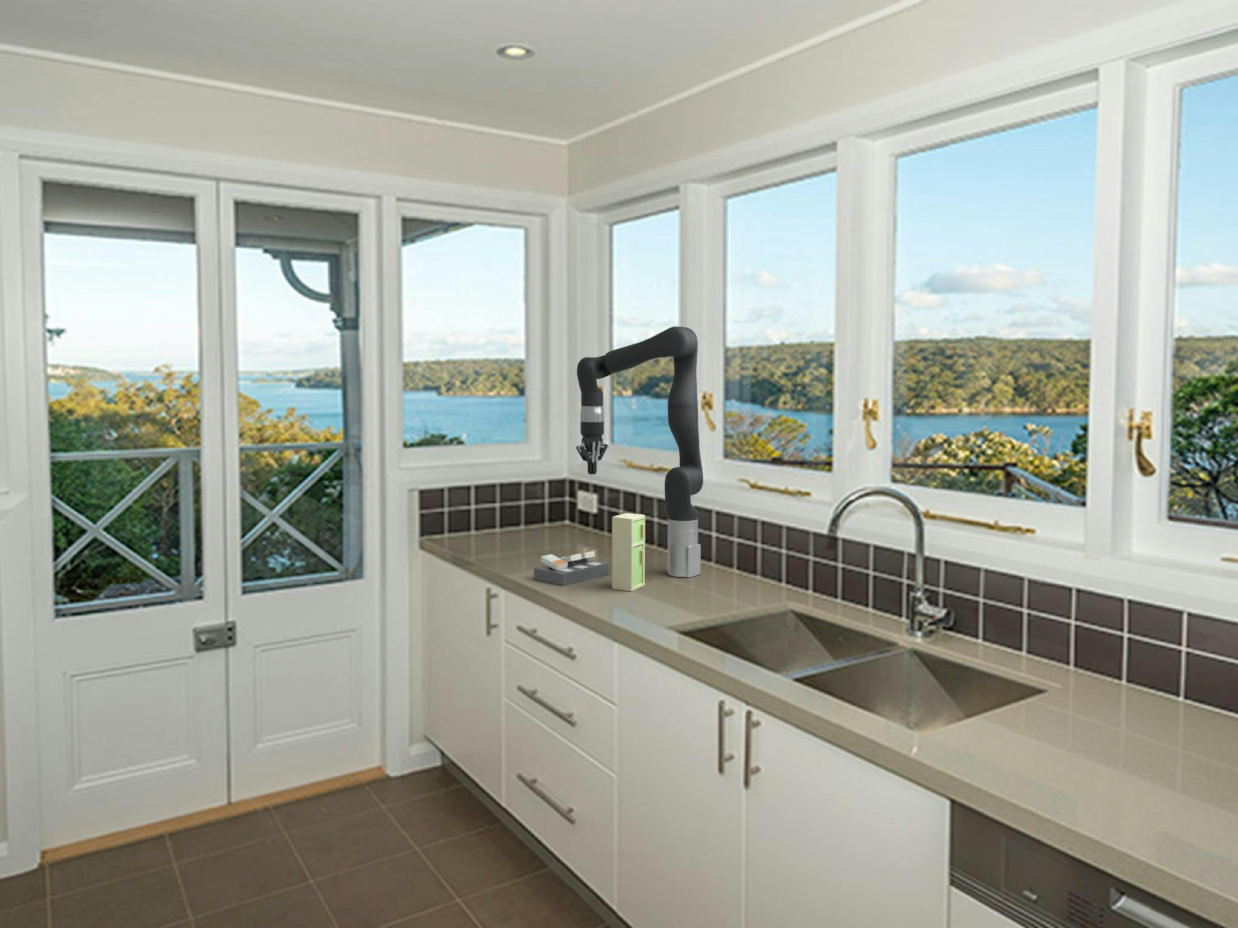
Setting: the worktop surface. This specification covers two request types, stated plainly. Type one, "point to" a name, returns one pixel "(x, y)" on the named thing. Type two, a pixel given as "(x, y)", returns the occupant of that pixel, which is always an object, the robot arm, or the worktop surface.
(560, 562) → the block
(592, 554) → the rocker
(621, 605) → the worktop surface
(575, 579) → the rocker switch panel
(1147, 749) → the worktop surface
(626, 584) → the toy refrigerator
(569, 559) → the block
